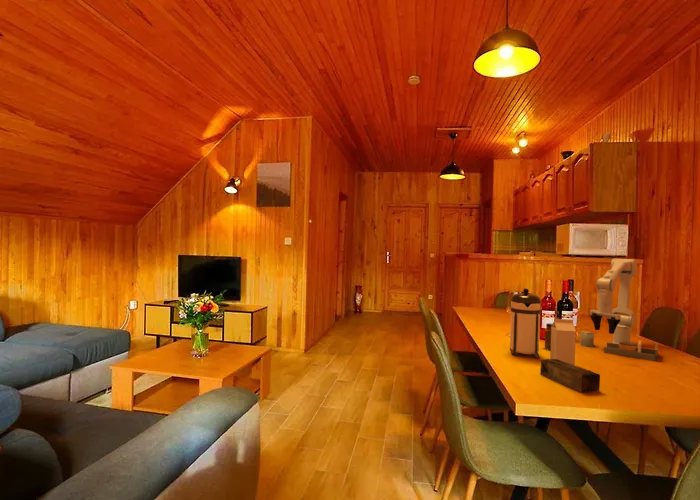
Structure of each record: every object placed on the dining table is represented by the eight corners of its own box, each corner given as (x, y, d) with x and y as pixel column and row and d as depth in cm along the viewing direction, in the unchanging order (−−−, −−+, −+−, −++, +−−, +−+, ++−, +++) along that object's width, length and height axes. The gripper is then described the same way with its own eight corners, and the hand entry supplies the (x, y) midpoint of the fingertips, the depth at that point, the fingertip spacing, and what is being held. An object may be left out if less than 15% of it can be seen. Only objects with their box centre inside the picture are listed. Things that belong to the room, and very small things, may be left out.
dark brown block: (556, 373, 146) (557, 356, 146) (601, 392, 127) (601, 373, 127) (539, 374, 144) (539, 357, 144) (582, 394, 125) (583, 374, 125)
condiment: (547, 346, 185) (548, 322, 185) (566, 350, 179) (566, 325, 179) (540, 348, 181) (541, 323, 181) (559, 352, 174) (560, 327, 174)
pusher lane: (606, 347, 187) (607, 337, 187) (657, 355, 174) (657, 344, 174) (603, 352, 177) (604, 341, 177) (657, 361, 164) (657, 350, 164)
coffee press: (552, 357, 167) (554, 289, 166) (524, 360, 161) (526, 290, 160) (521, 347, 183) (522, 285, 182) (495, 349, 177) (497, 286, 176)
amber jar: (619, 350, 181) (619, 340, 181) (636, 353, 177) (637, 343, 176) (617, 353, 176) (618, 343, 176) (636, 356, 171) (636, 345, 171)
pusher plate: (638, 352, 178) (638, 339, 178) (641, 352, 177) (641, 340, 177) (637, 356, 170) (637, 344, 170) (640, 357, 169) (640, 344, 169)
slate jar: (581, 343, 193) (581, 329, 193) (594, 345, 189) (594, 331, 189) (579, 345, 189) (580, 331, 189) (592, 347, 185) (593, 333, 185)
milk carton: (574, 368, 152) (576, 321, 152) (555, 366, 154) (557, 320, 153) (568, 362, 159) (569, 318, 159) (550, 361, 160) (551, 317, 160)
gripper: (585, 301, 185) (584, 328, 185) (612, 305, 171) (611, 335, 171) (597, 300, 187) (596, 328, 187) (624, 305, 173) (623, 335, 173)
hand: (604, 331), depth 179 cm, fingers open, 7 cm apart
